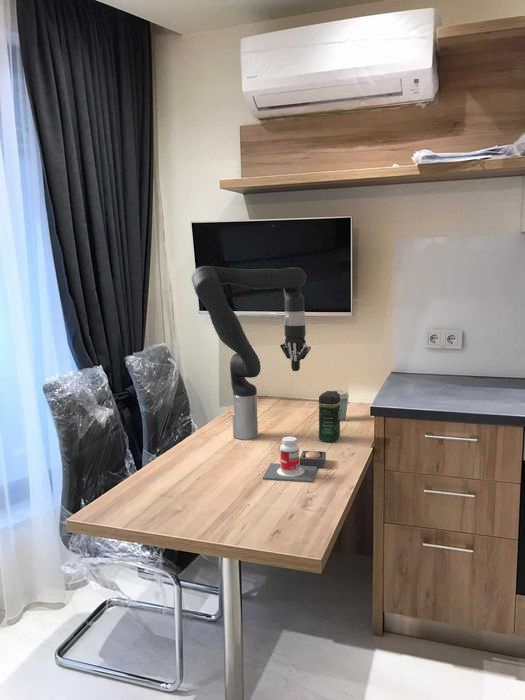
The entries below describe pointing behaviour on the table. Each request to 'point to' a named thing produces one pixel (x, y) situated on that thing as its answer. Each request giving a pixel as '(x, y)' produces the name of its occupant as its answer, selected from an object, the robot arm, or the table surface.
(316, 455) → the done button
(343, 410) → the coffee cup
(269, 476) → the grey rectangular pad
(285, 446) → the pill bottle
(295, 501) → the table surface
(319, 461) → the button housing
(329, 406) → the coffee jar
